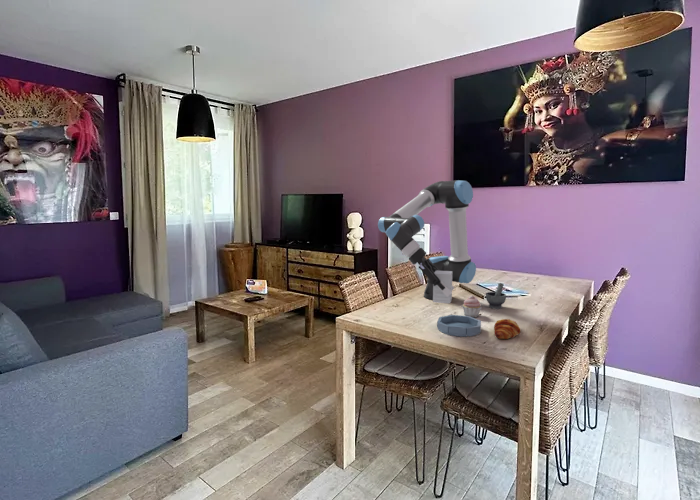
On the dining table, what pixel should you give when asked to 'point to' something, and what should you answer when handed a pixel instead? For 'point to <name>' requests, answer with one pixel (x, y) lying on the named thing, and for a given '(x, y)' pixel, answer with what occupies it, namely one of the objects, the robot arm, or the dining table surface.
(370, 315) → the dining table surface
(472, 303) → the cupcake
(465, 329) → the octagonal dish
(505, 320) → the croissant
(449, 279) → the supplement box
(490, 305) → the mortar and pestle
